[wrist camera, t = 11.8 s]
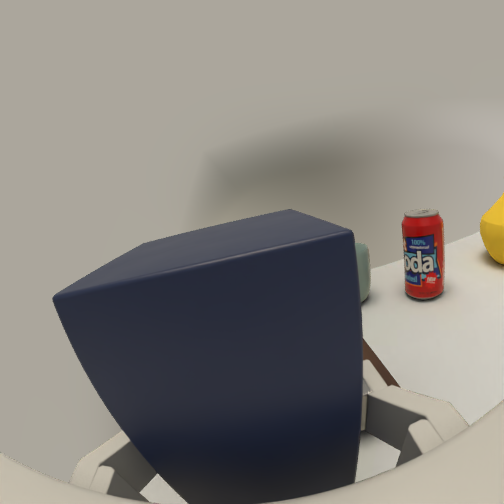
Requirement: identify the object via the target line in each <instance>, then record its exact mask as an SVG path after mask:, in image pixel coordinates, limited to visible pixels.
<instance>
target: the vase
mask: <svg viewBox="0 0 504 504" xmlns="http://www.w3.org/2000/svg"><path fill="white" fill-rule="evenodd" d="M480 234H481V236H482V239H483V242H484V245H485V247H486V249H487V251H488V252H489V254H490V256H491V257H492V258H493V259H494V260H495V261H496V262H498V263H500V264H503V265H504V193H503V195H502V196H501V197H500V198H499V200H498V201H497V202H496V203H495V204H494V205H493V206H492V207H491V208H490V209H489V210H488V211H487V212H486V213H485V214H484V215H483V216H482V219H481V223H480Z"/></svg>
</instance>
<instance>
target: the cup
mask: <svg viewBox="0 0 504 504" xmlns="http://www.w3.org/2000/svg"><path fill="white" fill-rule="evenodd" d="M355 247H356V255H357V264H358V274H359V284H360V297H361V302H363V301H364V300H365V299H366V298H367V296H368V294H369V291H370V284H371V272H370V259H369V250H368V247H367V245H365V244H361V243H355Z"/></svg>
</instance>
